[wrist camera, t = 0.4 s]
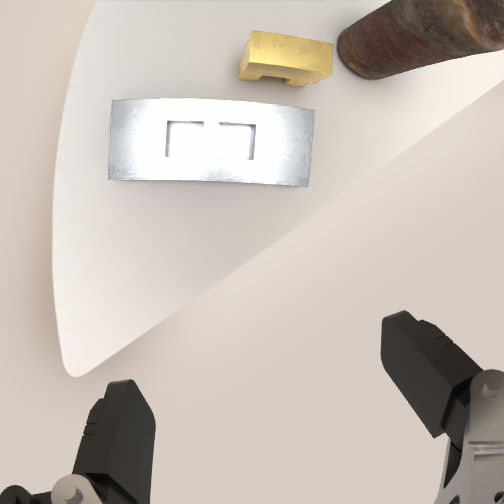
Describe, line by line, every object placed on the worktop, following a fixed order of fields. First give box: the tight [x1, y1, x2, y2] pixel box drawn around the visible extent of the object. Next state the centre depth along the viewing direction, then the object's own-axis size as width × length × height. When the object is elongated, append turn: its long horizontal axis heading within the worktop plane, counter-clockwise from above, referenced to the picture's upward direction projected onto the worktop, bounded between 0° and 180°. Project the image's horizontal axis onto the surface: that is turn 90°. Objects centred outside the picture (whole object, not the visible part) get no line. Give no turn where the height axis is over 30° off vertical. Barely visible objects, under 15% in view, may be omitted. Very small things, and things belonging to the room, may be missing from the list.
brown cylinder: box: [339, 0, 504, 80], centre depth 20 cm, size 8×7×20 cm
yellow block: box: [239, 31, 333, 87], centre depth 26 cm, size 3×7×8 cm, turn 86°
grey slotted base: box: [108, 98, 314, 187], centre depth 30 cm, size 8×20×3 cm, turn 86°
